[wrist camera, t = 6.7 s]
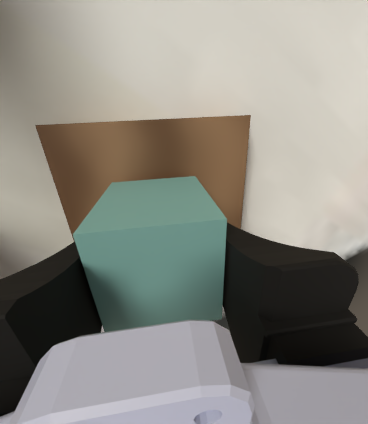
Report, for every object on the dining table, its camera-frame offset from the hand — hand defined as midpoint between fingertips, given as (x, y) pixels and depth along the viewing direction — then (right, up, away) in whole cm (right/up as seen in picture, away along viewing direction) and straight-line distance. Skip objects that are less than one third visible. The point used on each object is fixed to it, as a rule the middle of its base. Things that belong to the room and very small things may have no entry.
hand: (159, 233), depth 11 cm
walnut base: (-1, +2, +4) cm, 4 cm away
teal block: (0, +1, +1) cm, 2 cm away
